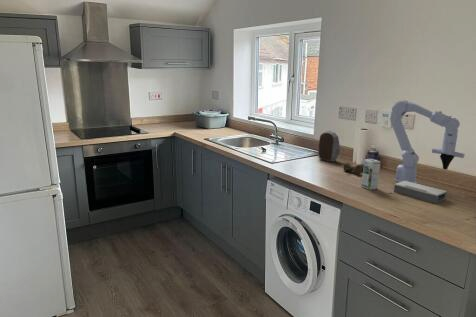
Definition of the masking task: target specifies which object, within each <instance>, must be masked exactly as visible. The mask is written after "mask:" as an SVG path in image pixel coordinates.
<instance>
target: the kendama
mask: <svg viewBox="0 0 476 317" xmlns="http://www.w3.org/2000/svg"><path fill="white" fill-rule="evenodd" d="M363 168H364V163H360V164H358V165H352V164H351V163H350V162H345V163H344V165H343V171H344V172H346V171H348V172H352V173H354V175H355V176H360V175H361V174H362V173H363ZM359 174H360V175H359Z"/></svg>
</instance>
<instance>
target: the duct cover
mask: <svg viewBox="0 0 476 317" xmlns="http://www.w3.org/2000/svg"><path fill="white" fill-rule="evenodd" d="M395 185H397V186H401V187H405V188H408V189H412V190H416V191H420V192H424V193H427V194H431V195H435V196H439V195H441V194H443V193H446V194H447V190H444V189H440V188H436V187H432V186H428V185H424V184H420V183H413V182H408V181H402V182H396V183H394V186H395Z"/></svg>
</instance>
